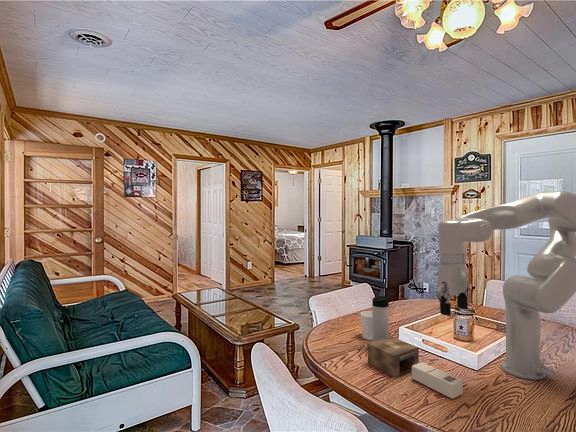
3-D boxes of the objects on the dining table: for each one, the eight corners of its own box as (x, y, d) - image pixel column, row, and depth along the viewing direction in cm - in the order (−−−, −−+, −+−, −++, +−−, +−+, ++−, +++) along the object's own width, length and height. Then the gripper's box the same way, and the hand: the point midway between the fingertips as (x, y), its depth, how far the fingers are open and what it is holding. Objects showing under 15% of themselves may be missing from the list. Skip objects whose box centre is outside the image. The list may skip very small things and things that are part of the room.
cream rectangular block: (462, 393, 101) (462, 379, 101) (452, 398, 98) (452, 384, 98) (421, 374, 113) (421, 361, 113) (411, 378, 110) (411, 365, 110)
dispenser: (420, 368, 118) (420, 347, 117) (396, 378, 111) (395, 356, 111) (391, 355, 129) (391, 336, 128) (367, 363, 122) (367, 343, 122)
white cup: (359, 339, 144) (358, 315, 144) (362, 332, 151) (362, 310, 151) (378, 341, 141) (378, 317, 141) (380, 335, 148) (380, 312, 148)
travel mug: (390, 351, 132) (390, 299, 131) (372, 350, 133) (372, 298, 133) (389, 344, 138) (389, 295, 137) (372, 343, 139) (371, 294, 139)
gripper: (455, 254, 119) (457, 303, 119) (425, 261, 109) (427, 314, 110) (478, 256, 113) (480, 308, 113) (447, 264, 103) (450, 320, 103)
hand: (454, 311), depth 111 cm, fingers open, 9 cm apart
